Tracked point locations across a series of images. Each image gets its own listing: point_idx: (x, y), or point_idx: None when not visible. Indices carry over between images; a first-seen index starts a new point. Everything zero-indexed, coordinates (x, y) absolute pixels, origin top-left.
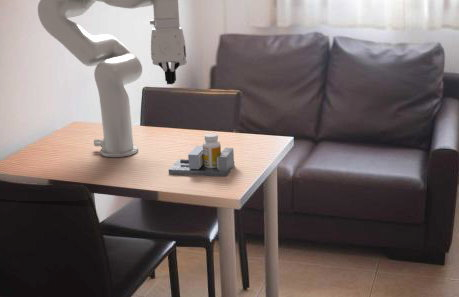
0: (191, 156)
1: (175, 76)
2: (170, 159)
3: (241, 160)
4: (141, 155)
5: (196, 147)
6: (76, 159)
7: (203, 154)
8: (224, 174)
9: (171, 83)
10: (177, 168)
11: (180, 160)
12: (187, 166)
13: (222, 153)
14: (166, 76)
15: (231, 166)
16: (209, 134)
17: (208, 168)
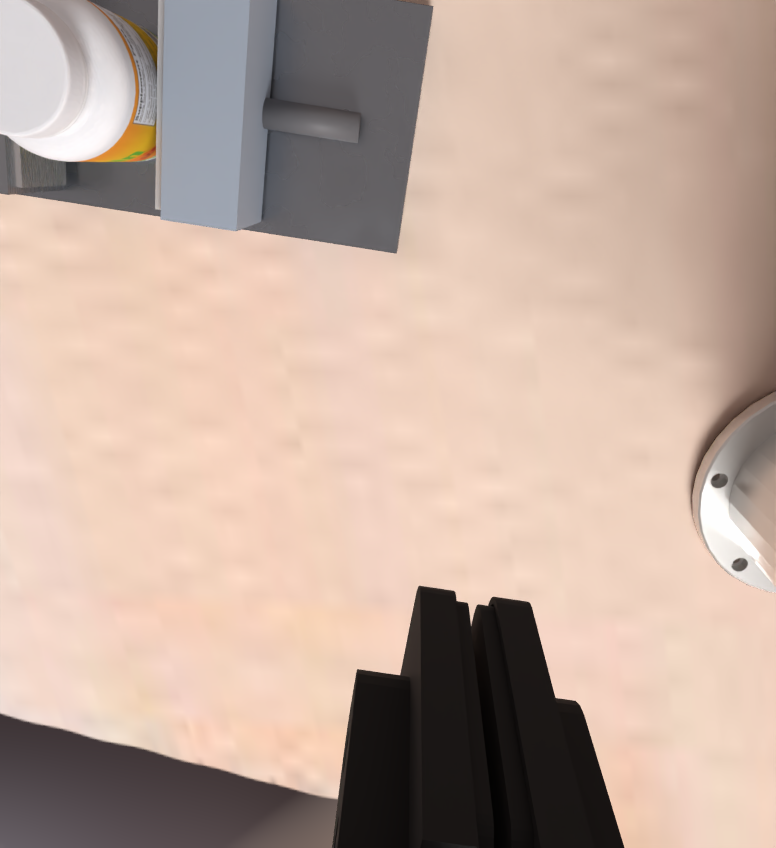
0: None
1: (338, 799)
2: (466, 337)
3: (17, 304)
4: (663, 420)
5: (227, 180)
6: None
7: (149, 51)
8: None
9: (423, 590)
10: (370, 30)
11: (358, 116)
12: (305, 78)
13: None
14: (559, 730)
15: None
16: (26, 90)
17: (144, 26)
